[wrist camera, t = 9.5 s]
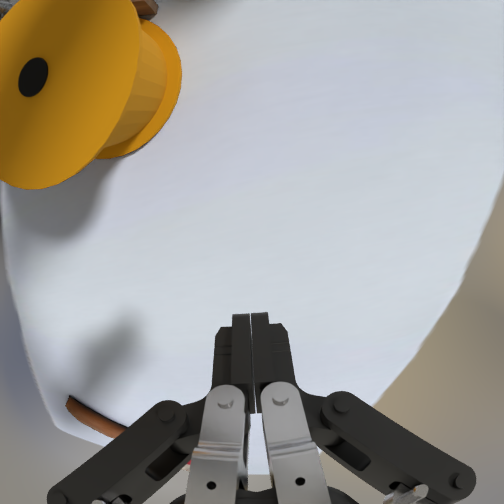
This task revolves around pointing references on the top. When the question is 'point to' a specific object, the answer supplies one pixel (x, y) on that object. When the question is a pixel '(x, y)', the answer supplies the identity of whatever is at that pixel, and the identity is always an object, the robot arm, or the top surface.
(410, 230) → the top surface
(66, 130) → the spool
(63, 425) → the top surface
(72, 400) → the sunglasses case
